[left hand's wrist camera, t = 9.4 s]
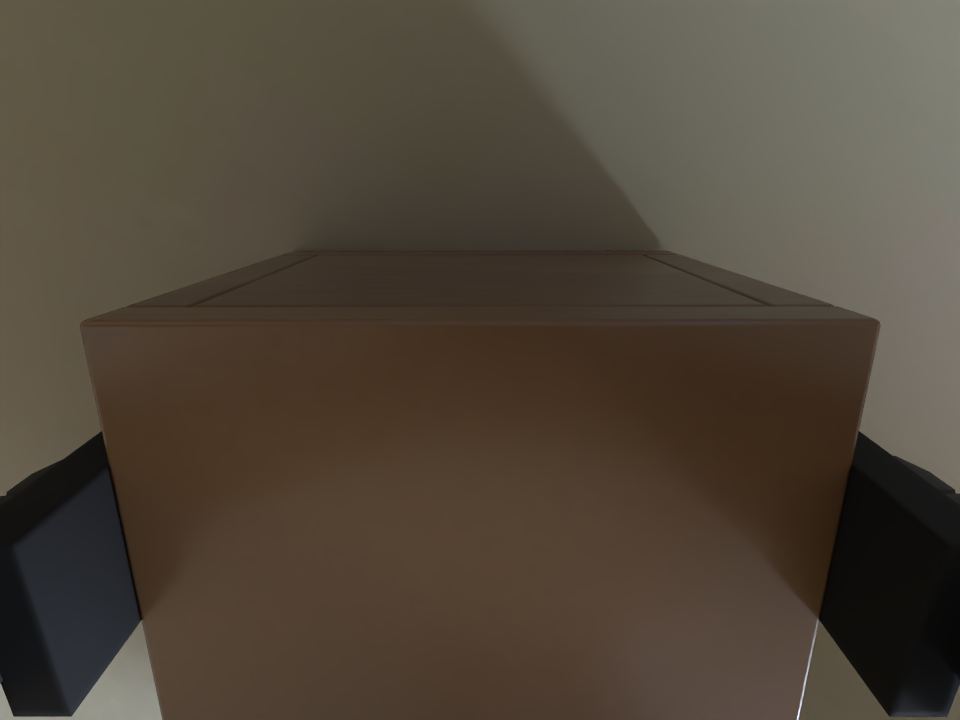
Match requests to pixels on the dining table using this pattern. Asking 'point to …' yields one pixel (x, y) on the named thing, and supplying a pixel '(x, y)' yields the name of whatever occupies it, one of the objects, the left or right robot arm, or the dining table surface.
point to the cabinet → (480, 484)
